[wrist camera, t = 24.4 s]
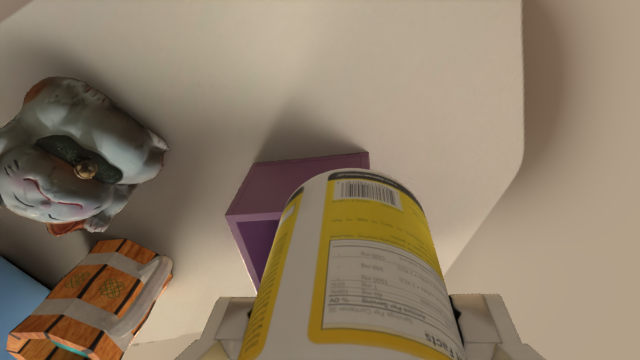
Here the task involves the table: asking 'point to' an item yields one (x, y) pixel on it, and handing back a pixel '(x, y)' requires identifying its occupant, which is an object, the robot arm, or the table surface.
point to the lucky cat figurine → (73, 157)
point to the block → (16, 301)
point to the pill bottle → (352, 277)
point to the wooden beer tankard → (94, 306)
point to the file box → (274, 202)
